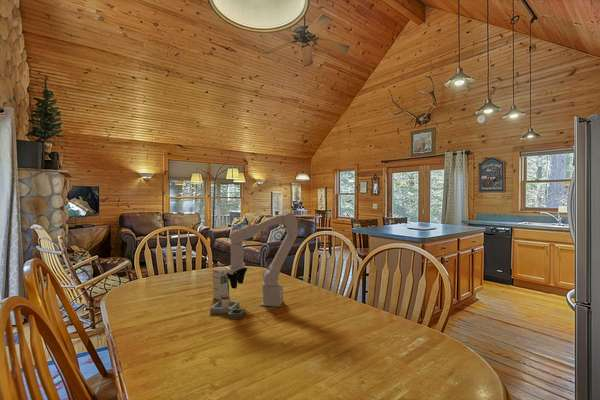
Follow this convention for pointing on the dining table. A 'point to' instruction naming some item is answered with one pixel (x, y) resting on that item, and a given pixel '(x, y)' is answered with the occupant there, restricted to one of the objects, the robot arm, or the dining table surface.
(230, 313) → the fuse socket
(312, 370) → the dining table surface
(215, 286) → the syrup box
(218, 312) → the parts tray
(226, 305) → the cylinder
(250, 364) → the dining table surface
